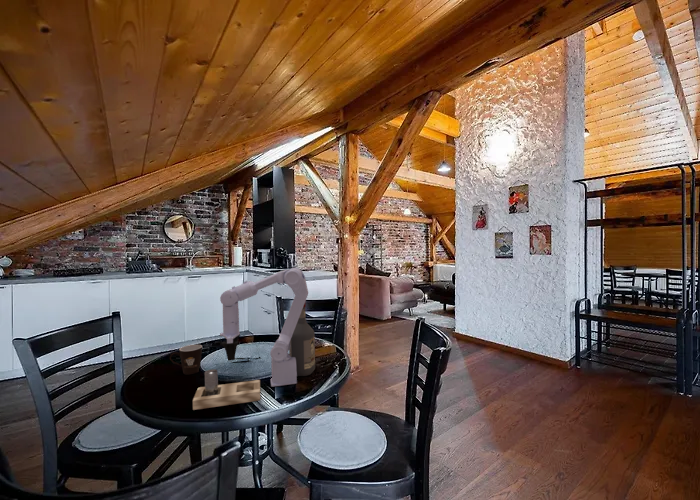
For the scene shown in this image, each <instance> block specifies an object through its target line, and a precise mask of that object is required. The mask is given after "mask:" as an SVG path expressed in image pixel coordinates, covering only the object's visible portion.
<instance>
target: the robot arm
mask: <svg viewBox="0 0 700 500" xmlns="http://www.w3.org/2000/svg"><path fill="white" fill-rule="evenodd" d="M277 283H278V284H280V285H284V284H286V285H287V286H288V287H289V288H290V289H291V291H292V293H293V294H294V297H293V300H292V303H291V306H290V308H289V310H288V313H287V316H286V319H285V321H284V324H283V326H282V328H281V332H280V334H279V336H278V338H277V339H276V340H275V342H274V345H273V347H272V348H271V350H270V357H271V358H270V359H271V361H270V363H271V365H270V366H271V377H272V378H271V377H270V378H271V379H270V387H281V386H287V385H295V384H298V380H297V379H298V378H297V377H298V376H297V371H296V358H295V357H290V355H289V349H290V340H291V337H292V335H293V332H294V330H295V327H296V324H297V322H298V319H299V317H300V314H301V311H302V309H303V306H304V304H305V301H307V298H308V296H309V290H308V285H307V281H306V275H305V274H304V273H303V270H302V269H300V268H298V267H292V268H290V269H283V270H281V271H278V272H276V273H273V274H271V275H269V276H266V277H263V278H262V279H260V280H258V281H252V280H245V281H243V283H241V284H240V285H237V286H235V285H234V286H232V287H231V288H229V289H227V290H226V291H224V292H222V293H221V295H220V298H219V300H220V302H221V304H222V330H223V331H222V332H221V333H219V337H223V338H224V339H225V341H222V342H221V345H222V347H223V348H224V350H225V353H226V359H228V360H227V362H232V361H235V360H236V359H235V358H236V352H237V348H238V344H240V343H239V342H240V341H239V339H240V336H241V332H240V317H239V315H240V312H239V310H240V309H239V302H242V301H245V300H246V299H249V298H252V297H254V296H256V295H257V294H258V291H259V290H262V289H264V288H266V287H269V286H272V285H274V284H277Z"/></svg>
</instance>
